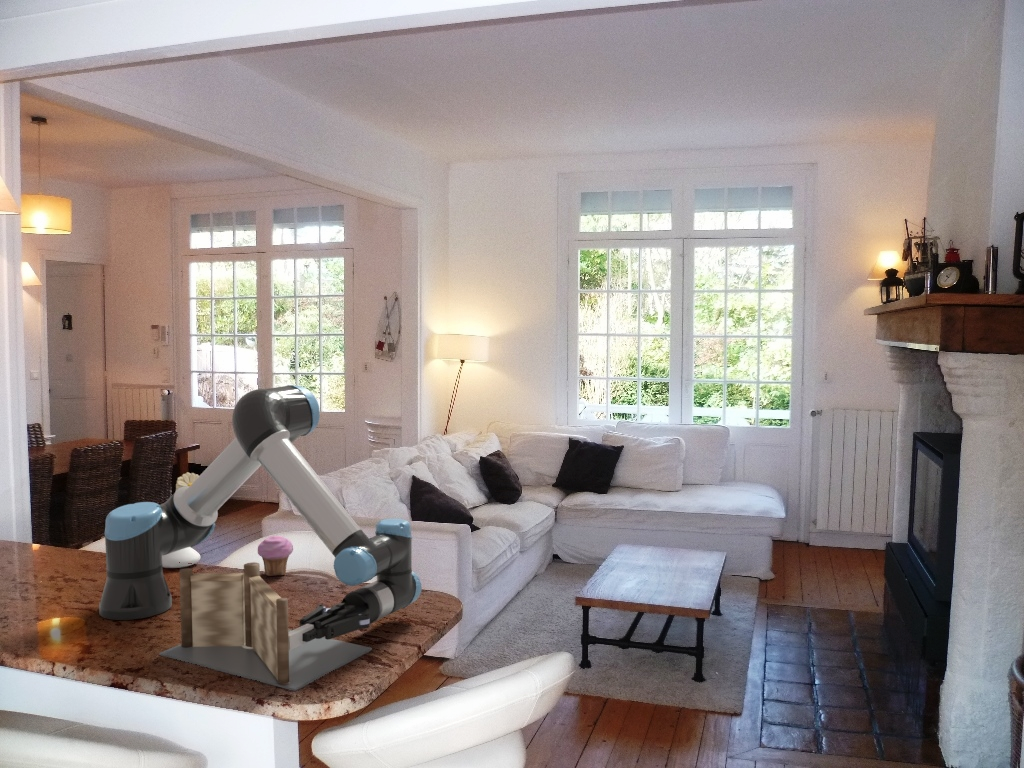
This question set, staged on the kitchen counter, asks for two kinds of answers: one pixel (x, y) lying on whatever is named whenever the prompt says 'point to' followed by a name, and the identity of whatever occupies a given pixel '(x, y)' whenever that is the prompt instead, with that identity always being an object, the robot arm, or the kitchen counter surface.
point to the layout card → (246, 663)
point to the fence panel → (270, 628)
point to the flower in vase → (187, 553)
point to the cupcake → (275, 554)
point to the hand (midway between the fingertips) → (286, 642)
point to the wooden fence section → (216, 607)
